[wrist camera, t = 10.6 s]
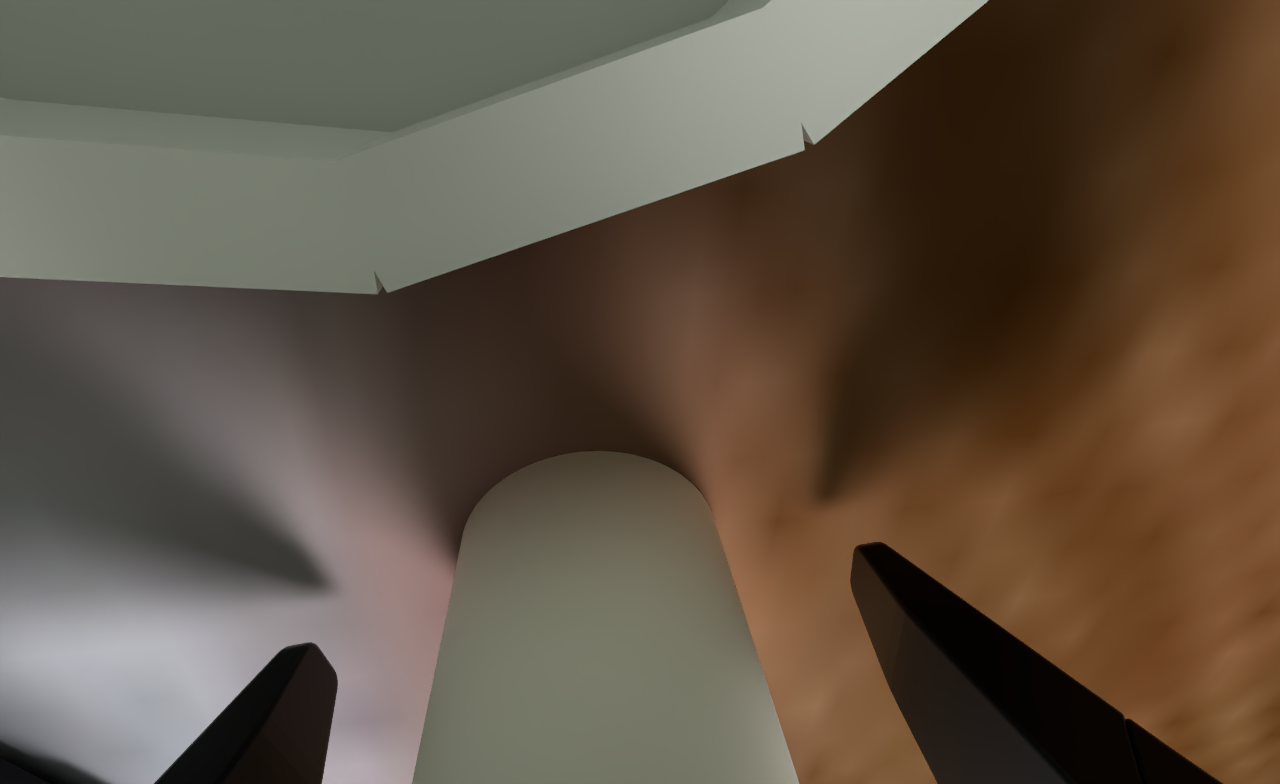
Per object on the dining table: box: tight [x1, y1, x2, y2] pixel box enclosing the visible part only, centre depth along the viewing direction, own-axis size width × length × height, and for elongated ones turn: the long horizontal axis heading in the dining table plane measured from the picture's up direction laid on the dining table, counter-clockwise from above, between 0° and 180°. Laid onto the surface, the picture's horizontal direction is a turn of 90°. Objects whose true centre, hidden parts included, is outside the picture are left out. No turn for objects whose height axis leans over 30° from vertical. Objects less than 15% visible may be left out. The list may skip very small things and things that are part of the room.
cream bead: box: [412, 451, 799, 784], centre depth 8 cm, size 4×4×5 cm
